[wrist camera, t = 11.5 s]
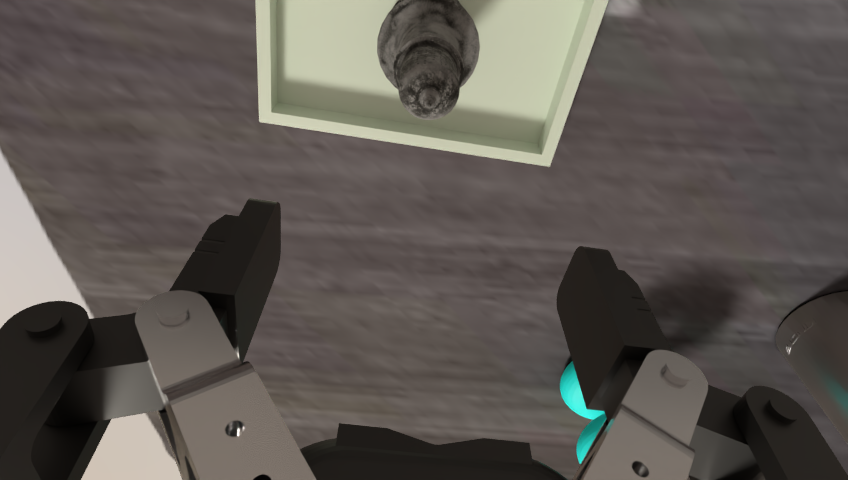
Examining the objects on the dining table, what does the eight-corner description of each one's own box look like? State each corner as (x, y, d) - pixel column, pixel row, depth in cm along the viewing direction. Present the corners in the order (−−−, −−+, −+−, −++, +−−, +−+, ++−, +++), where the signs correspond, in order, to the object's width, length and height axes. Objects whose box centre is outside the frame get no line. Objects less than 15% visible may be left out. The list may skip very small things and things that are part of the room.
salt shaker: (389, -29, 29) (372, 20, 20) (486, -6, 30) (515, 52, 21) (374, 69, 33) (353, 152, 23) (461, 88, 34) (476, 176, 24)
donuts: (623, 503, 48) (558, 465, 44) (594, 412, 56) (537, 373, 52) (721, 462, 44) (659, 415, 40) (675, 370, 52) (619, 323, 48)
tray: (617, -67, 29) (630, -63, 27) (543, 151, 37) (549, 166, 35) (263, -139, 27) (251, -140, 25) (268, 108, 35) (259, 121, 33)
